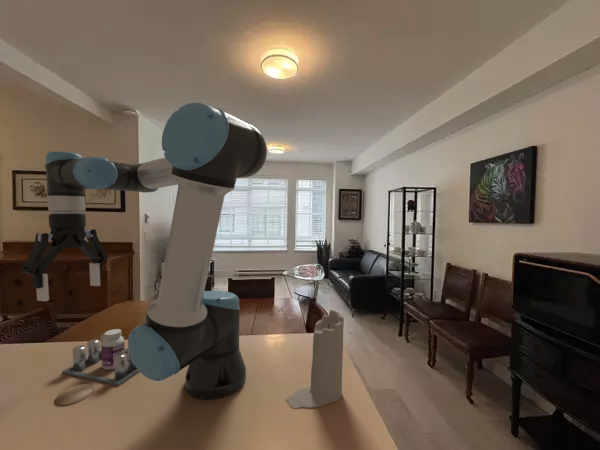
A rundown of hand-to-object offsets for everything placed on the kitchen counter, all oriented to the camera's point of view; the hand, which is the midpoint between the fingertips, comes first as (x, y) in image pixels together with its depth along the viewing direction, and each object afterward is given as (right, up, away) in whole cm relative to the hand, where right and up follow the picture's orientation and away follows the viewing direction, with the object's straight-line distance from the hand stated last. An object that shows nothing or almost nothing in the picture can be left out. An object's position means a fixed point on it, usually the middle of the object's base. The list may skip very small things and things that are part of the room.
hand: (71, 292), depth 75 cm
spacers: (+8, -22, +5) cm, 24 cm away
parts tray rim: (+8, -22, +5) cm, 24 cm away
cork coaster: (+7, -22, -8) cm, 25 cm away
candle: (+64, -24, -7) cm, 69 cm away
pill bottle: (+8, -22, +5) cm, 24 cm away
